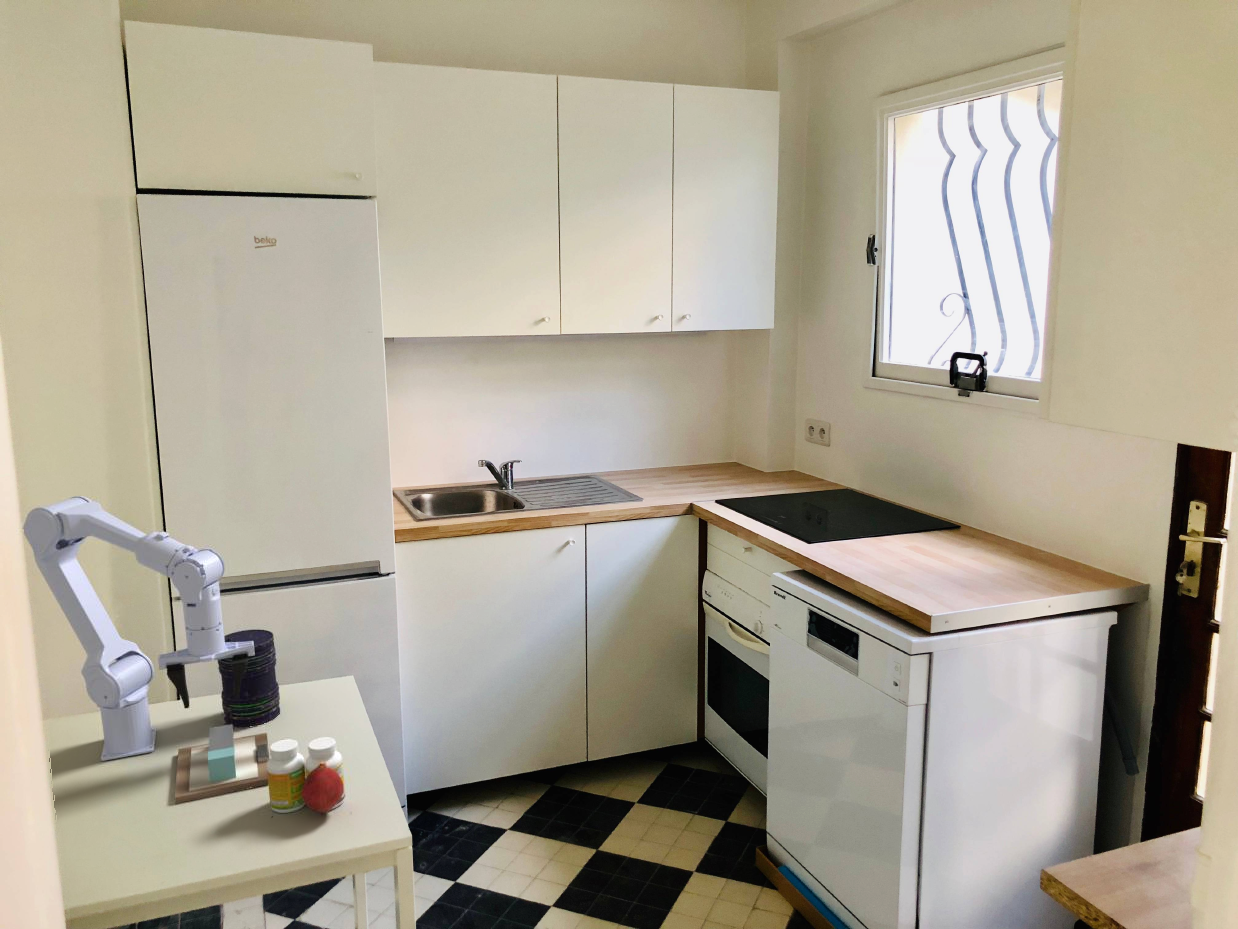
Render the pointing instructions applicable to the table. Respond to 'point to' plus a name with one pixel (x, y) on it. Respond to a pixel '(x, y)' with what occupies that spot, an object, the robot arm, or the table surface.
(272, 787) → the supplement bottle
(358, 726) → the table surface
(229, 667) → the dark blue cylinder
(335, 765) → the supplement bottle
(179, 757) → the clipboard
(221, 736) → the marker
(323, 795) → the onion
